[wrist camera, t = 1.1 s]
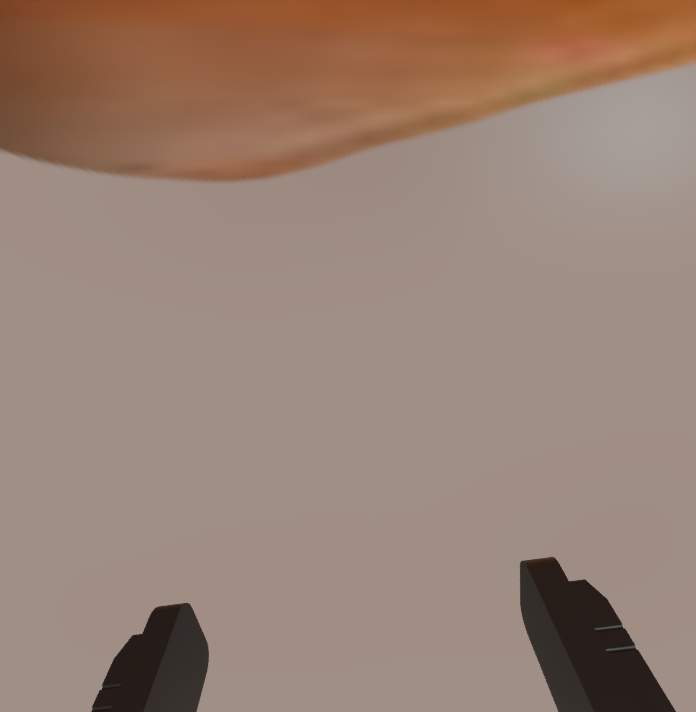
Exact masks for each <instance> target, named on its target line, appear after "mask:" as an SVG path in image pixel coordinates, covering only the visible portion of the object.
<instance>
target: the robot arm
mask: <svg viewBox="0 0 696 712" xmlns="http://www.w3.org/2000/svg"><path fill="white" fill-rule="evenodd" d="M520 605H521V612H522V617H523V621H524V624H525V628H526V631H527V634H528V636H529V639H530V641H531V644H532V646H533V649H534V651H535V654H536V656H537V659H538V661H539V664H540V666H541V669H542V671H543V674H544V676H545V679H546V682H547V684H548V686H549V689H550V691H551V694H552V697H553V699H554V702H555V704H556V706H557V709H558V712H676V711H675V710H674V708H673V706H672V705H671V703H670V701H669V700H668V698H667V697H666V695H665V693H664V692H663V690H662V688H661V687H660V685H659V683H658V682H657V680H656V679H655V677H654V676H653V674H652V672H651V670H650V669H649V667H648V665H647V664H646V662H645V661H644V659H643V657H642V656H641V654H640V652H639V651H638V650H637V649H636V648H635V644H634V642H633V641H632V639H631V638H630V636H629V634H628V633H627V631H626V629H624V628H623V626H622V623H621V621H620V620H619V618H618V617H617V615H616V613H615V611H614V610H613V608H612V607H611V605H610V603H609V602H608V600H607V599H606V598H605V597H604V596H603V595H602V594H601V593H600V592H598V591H597V590H596V589H595V588H594V587H593V586H592V585H590V584H589V583H588V582H587V581H586V580H578V581H570V582H569V581H568V579H567V577H566V575H565V573H564V572H563V570H562V568H561V566H560V564H559V563H558V561H557V560H556V559H555V558H554V557H549V558H541V559H533V560H526V561H521V563H520ZM208 658H209V651H208V644H207V641H206V639H205V636H204V634H203V632H202V629H201V627H200V625H199V623H198V620H197V618H196V616H195V614H194V611H193V609H192V607H191V605H190V604H188V603H183V604H175V605H168V606H159V607H157V608H155V609H154V610H153V612H152V613H151V615H150V617H149V619H148V622H147V624H146V627H145V629H144V632H143V634H139V635H133V636H132V637H131V638H130V639H129V641H128V642H127V643H126V644H125V646H124V647H123V648H122V649H121V651H120V652H119V653H118V654H117V656H116V657H115V658H114V660H113V662H112V664H111V667H110V669H109V671H108V673H107V676H106V678H105V680H104V682H103V684H102V686H103V688H102V690H100V691H99V693H98V695H97V698H96V700H95V702H94V704H93V706H92V708H93V709H92V712H196V711H197V707H198V704H199V700H200V696H201V692H202V688H203V684H204V681H205V677H206V673H207V667H208V660H209V659H208Z"/></svg>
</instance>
